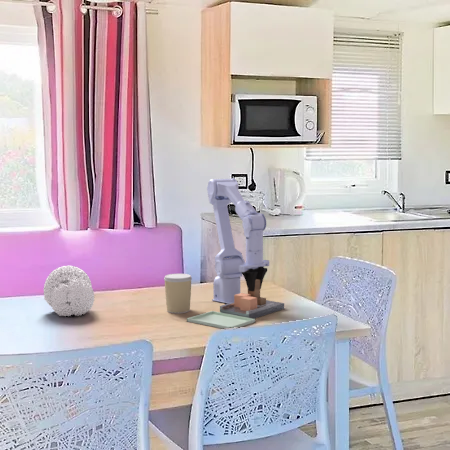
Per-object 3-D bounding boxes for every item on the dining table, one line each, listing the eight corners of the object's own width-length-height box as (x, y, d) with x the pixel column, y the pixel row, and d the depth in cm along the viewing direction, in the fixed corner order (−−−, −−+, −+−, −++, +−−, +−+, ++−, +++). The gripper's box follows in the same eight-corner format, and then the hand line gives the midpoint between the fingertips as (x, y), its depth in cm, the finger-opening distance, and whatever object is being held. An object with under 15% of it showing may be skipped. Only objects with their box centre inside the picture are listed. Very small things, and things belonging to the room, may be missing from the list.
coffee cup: (196, 308, 257) (195, 274, 256) (186, 314, 249) (185, 279, 247) (171, 306, 260) (170, 272, 259) (160, 312, 252) (159, 277, 250)
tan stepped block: (241, 302, 254) (241, 279, 253) (247, 300, 256) (247, 277, 255) (260, 305, 249) (260, 282, 248) (266, 304, 251) (266, 280, 250)
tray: (186, 321, 240) (186, 318, 240) (212, 313, 250) (212, 310, 250) (230, 330, 229) (230, 327, 229) (255, 322, 238) (255, 319, 238)
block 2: (240, 310, 246) (240, 298, 246) (247, 307, 249) (247, 296, 249) (249, 311, 244) (249, 299, 243) (257, 309, 247) (257, 297, 246)
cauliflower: (28, 286, 254) (57, 249, 251) (67, 302, 266) (95, 267, 263) (44, 323, 240) (75, 284, 237) (86, 338, 251) (115, 301, 249)
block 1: (234, 306, 251) (234, 294, 251) (241, 304, 254) (241, 292, 254) (243, 308, 249) (243, 296, 248) (251, 306, 252) (251, 294, 251)
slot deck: (219, 314, 248) (219, 306, 248) (256, 304, 263) (256, 295, 263) (248, 320, 241) (248, 311, 240) (284, 308, 256) (284, 300, 256)
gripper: (250, 254, 242) (250, 295, 244) (276, 248, 253) (276, 287, 255) (233, 251, 246) (233, 292, 248) (259, 246, 258) (259, 285, 259)
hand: (254, 290), depth 252 cm, fingers closed on tan stepped block, 3 cm apart
